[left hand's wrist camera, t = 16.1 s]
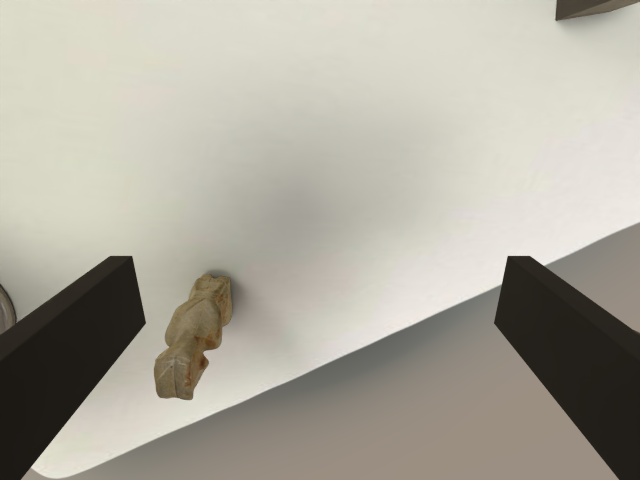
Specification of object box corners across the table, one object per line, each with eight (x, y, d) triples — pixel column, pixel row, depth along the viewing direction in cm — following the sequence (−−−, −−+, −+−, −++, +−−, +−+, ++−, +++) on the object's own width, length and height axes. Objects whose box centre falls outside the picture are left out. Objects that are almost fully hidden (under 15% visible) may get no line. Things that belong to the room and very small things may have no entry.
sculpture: (192, 313, 47) (138, 402, 33) (195, 264, 44) (138, 338, 30) (236, 320, 47) (201, 411, 33) (242, 272, 45) (207, 348, 31)
